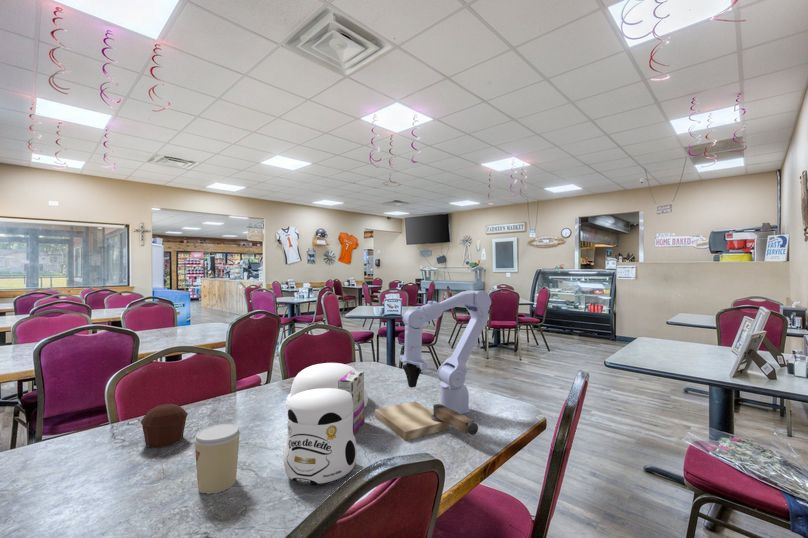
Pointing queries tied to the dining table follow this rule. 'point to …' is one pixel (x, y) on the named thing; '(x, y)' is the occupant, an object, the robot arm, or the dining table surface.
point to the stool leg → (455, 419)
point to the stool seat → (410, 420)
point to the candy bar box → (355, 395)
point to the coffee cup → (217, 457)
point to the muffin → (164, 425)
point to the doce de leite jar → (320, 436)
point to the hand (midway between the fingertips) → (412, 386)
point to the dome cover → (320, 378)
